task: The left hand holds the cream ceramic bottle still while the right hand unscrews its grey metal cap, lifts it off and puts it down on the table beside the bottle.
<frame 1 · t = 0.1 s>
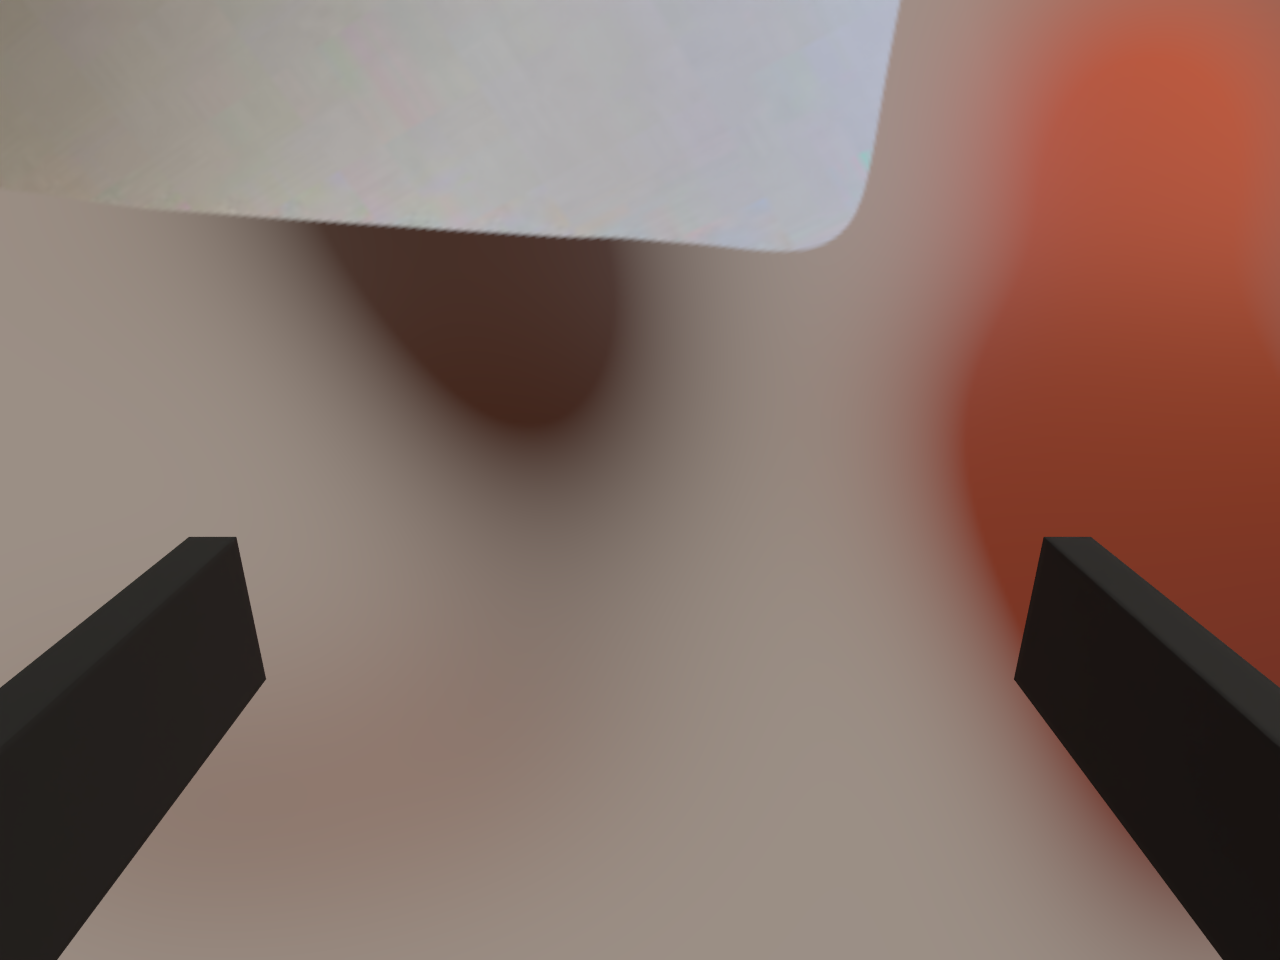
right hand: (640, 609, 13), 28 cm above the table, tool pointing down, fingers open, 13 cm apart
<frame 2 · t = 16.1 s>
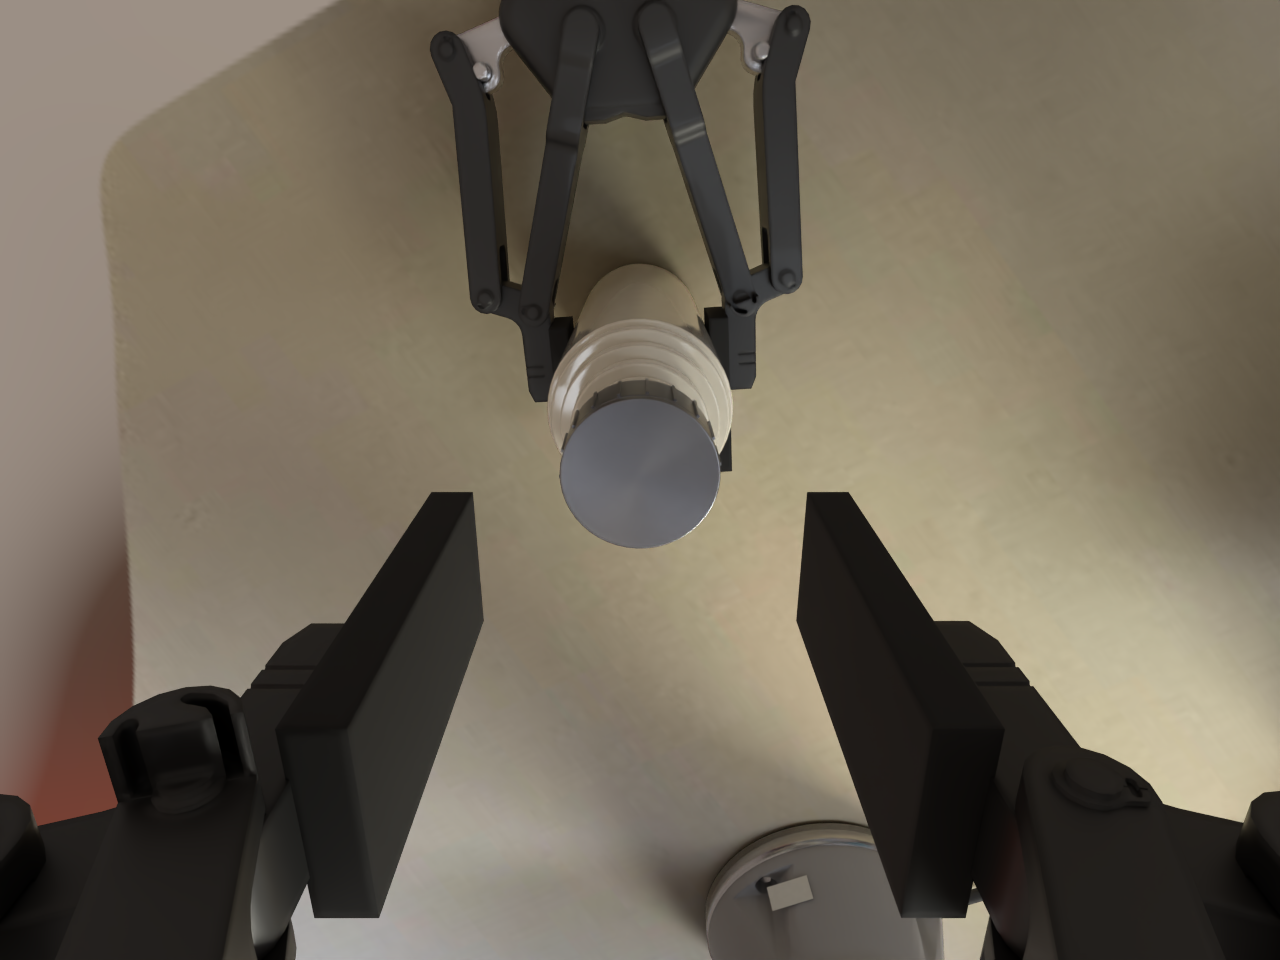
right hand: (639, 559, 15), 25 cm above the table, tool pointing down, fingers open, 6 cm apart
left hand: (647, 464, 34), fingers closed on bottle, 6 cm apart
cap: (640, 472, 19), point 21 cm above the table, screwed on, not yet turned
bottle: (640, 322, 38), on the table, touching left hand
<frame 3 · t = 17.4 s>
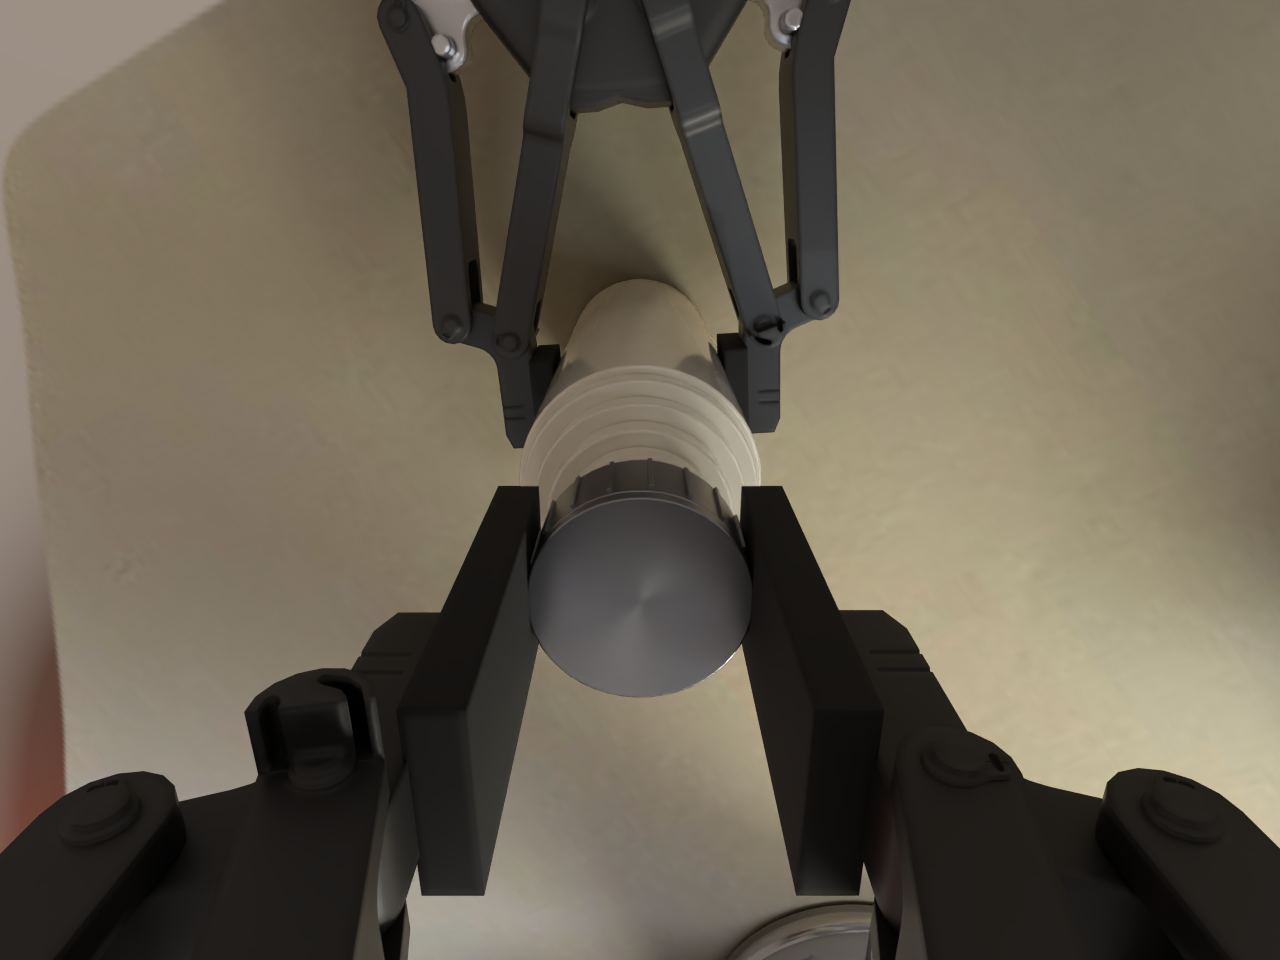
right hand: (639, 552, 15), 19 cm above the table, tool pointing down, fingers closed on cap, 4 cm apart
left hand: (649, 519, 29), fingers closed on bottle, 6 cm apart
cap: (640, 594, 13), point 21 cm above the table, screwed on, not yet turned, touching right hand
bottle: (640, 347, 33), on the table, touching left hand
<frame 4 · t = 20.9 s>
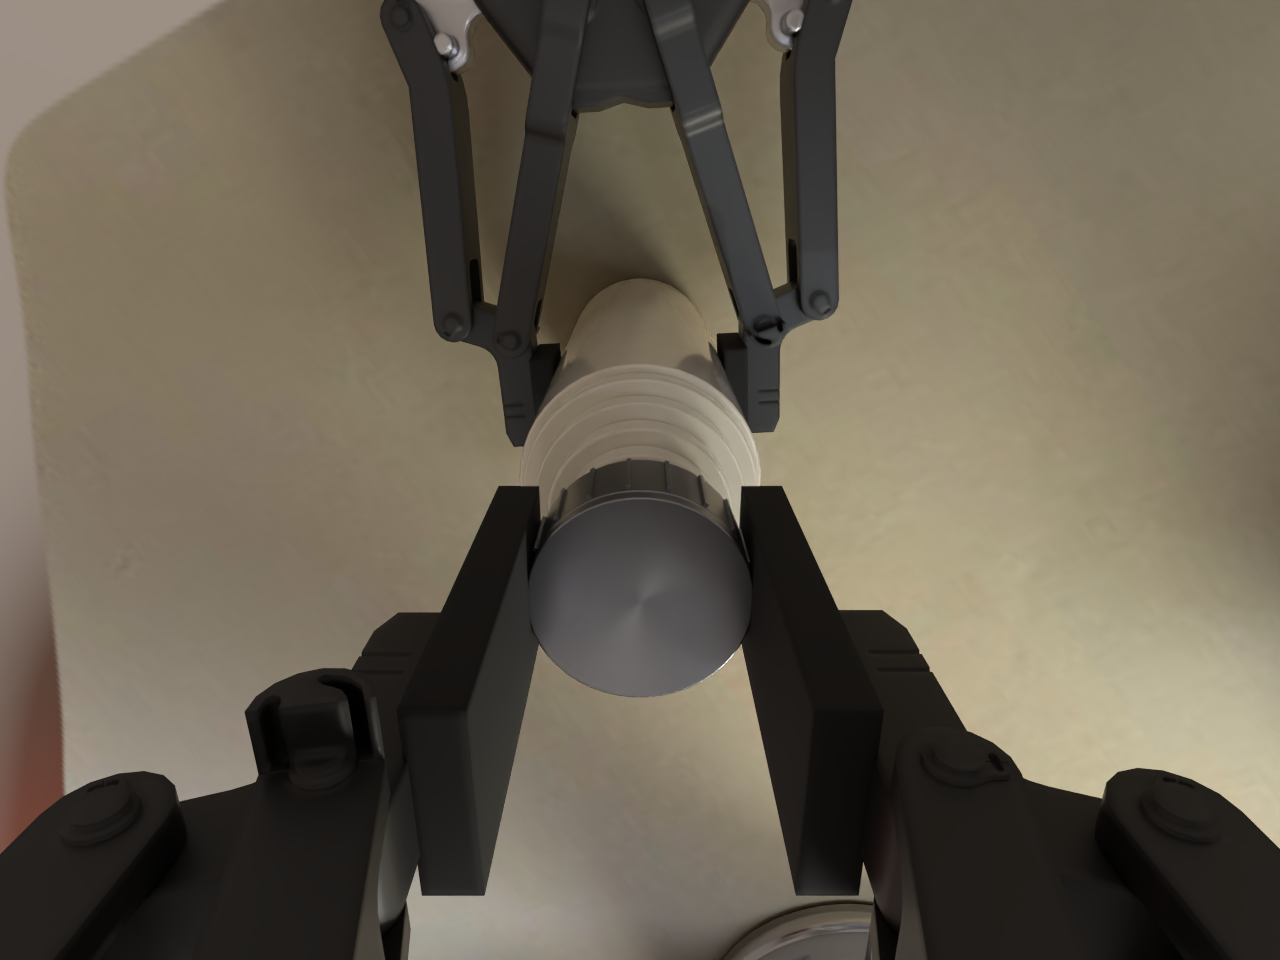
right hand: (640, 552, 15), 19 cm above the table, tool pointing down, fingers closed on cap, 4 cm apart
left hand: (648, 518, 29), fingers closed on bottle, 6 cm apart
cap: (640, 594, 13), point 21 cm above the table, turned 111° so far, risen 0.1 cm, still on its thread, touching right hand
bottle: (640, 347, 33), on the table, touching left hand
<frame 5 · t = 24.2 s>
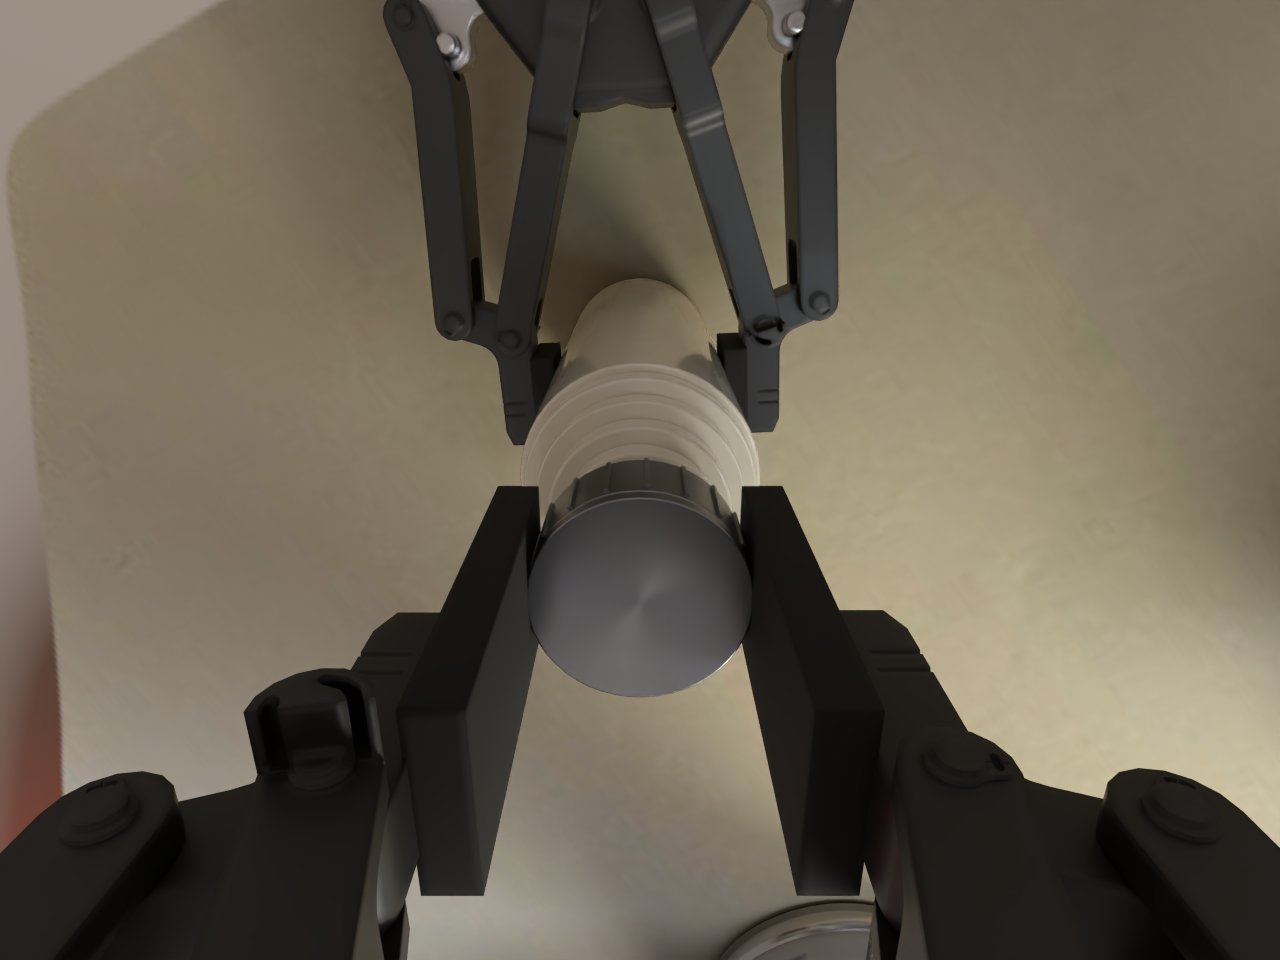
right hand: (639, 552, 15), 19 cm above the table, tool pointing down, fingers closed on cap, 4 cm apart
left hand: (647, 517, 29), fingers closed on bottle, 6 cm apart
cap: (640, 594, 13), point 21 cm above the table, turned 222° so far, risen 0.2 cm, still on its thread, touching right hand
bottle: (640, 346, 33), on the table, touching left hand
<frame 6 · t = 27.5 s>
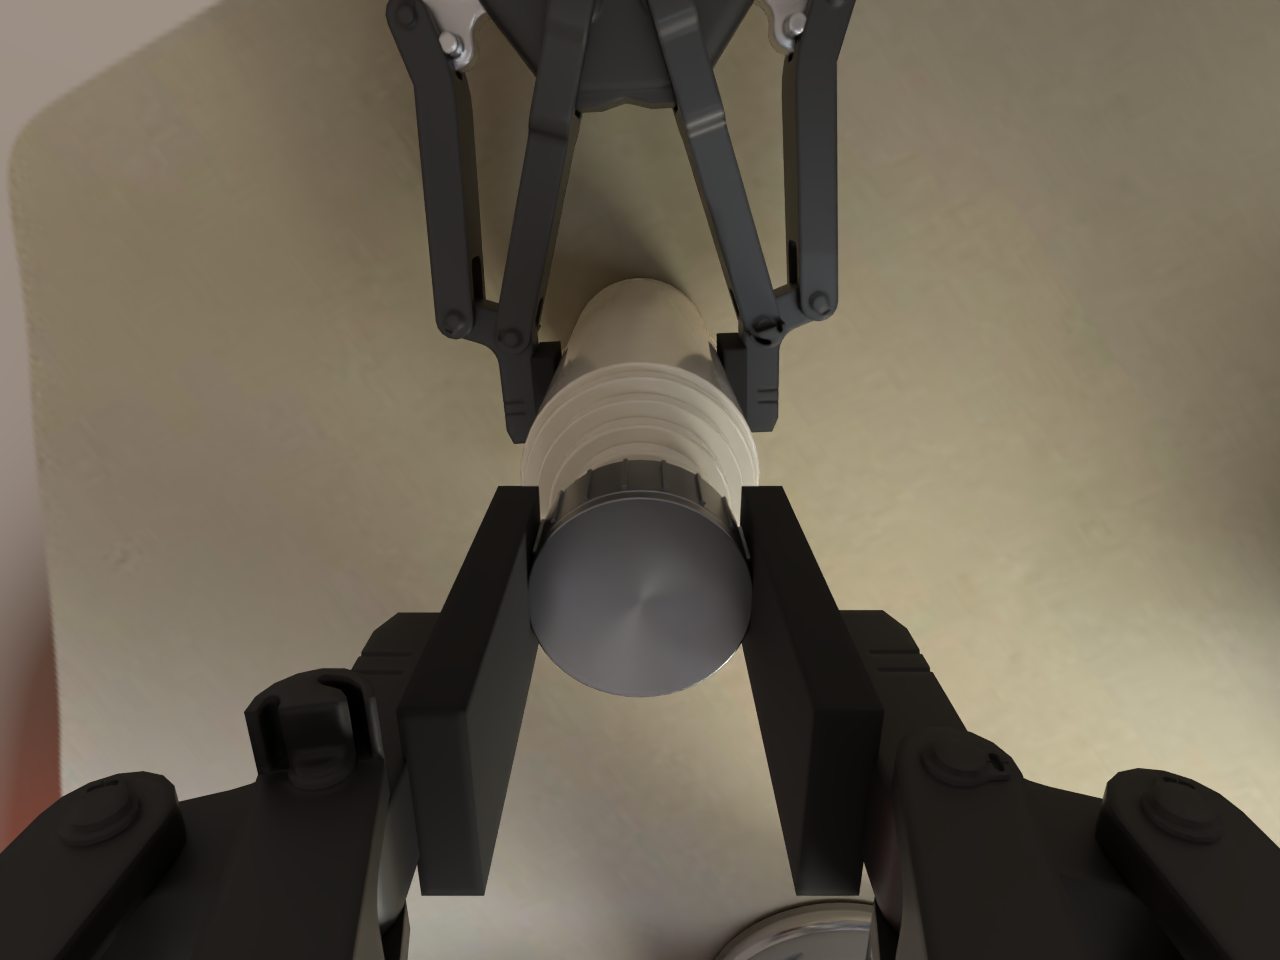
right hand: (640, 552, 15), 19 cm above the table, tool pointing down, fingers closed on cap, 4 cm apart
left hand: (647, 516, 29), fingers closed on bottle, 6 cm apart
cap: (640, 594, 13), point 21 cm above the table, turned 334° so far, risen 0.3 cm, still on its thread, touching right hand
bottle: (640, 346, 33), on the table, touching left hand
when the right hand's fingers open (2 cm above the table, at t = 34.0 s): cap drops 2 cm, point 2 cm above the table.
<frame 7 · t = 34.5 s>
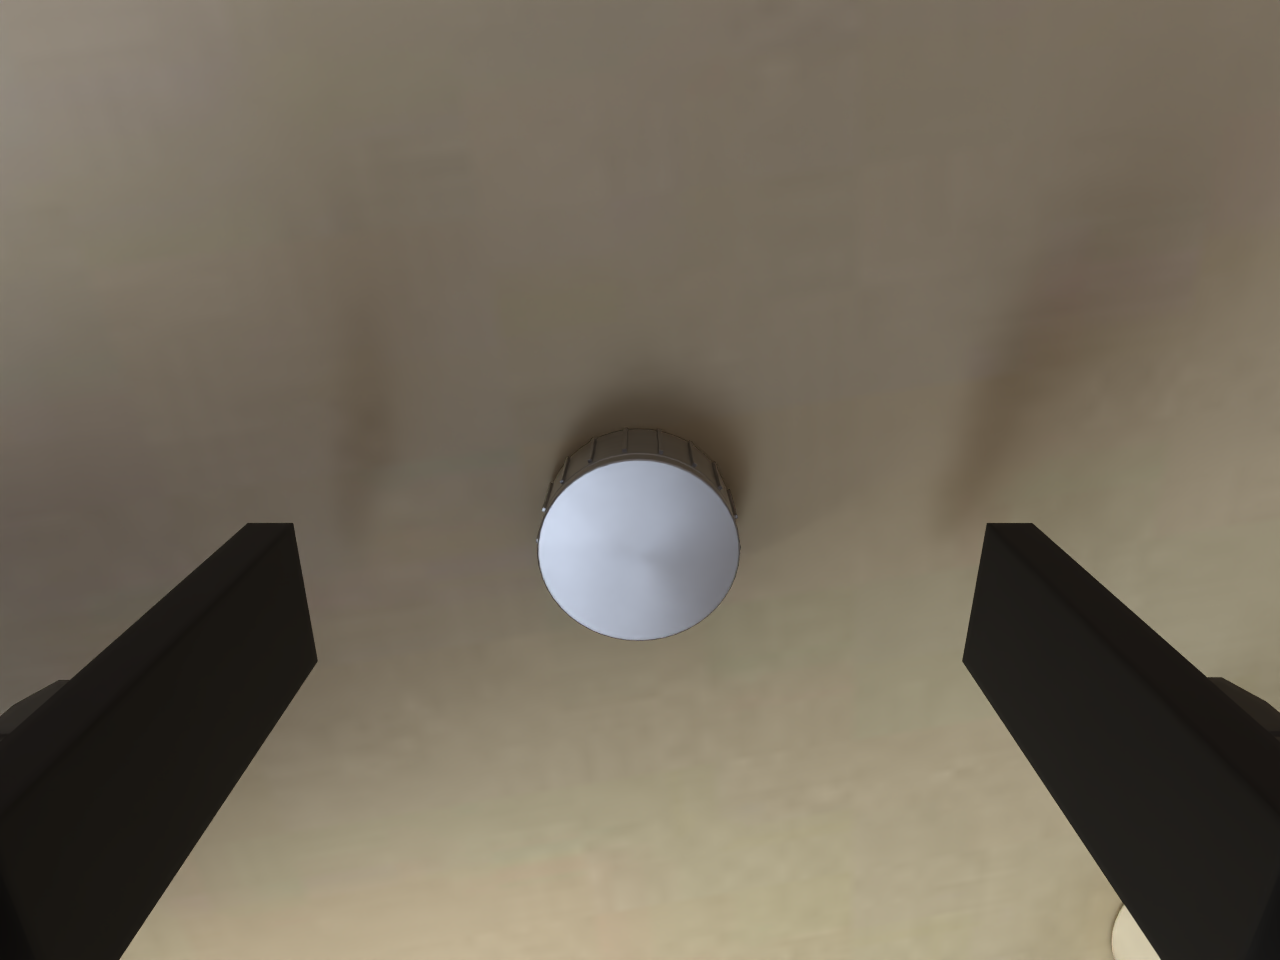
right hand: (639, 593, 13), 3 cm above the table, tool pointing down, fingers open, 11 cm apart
cap: (638, 547, 15), point 2 cm above the table, off its thread
bottle: (1218, 923, 21), on the table, touching left hand
when the left hand's fingers open (6 cm above the table, at t = 35.2 s): bottle stays where it is, on the table.
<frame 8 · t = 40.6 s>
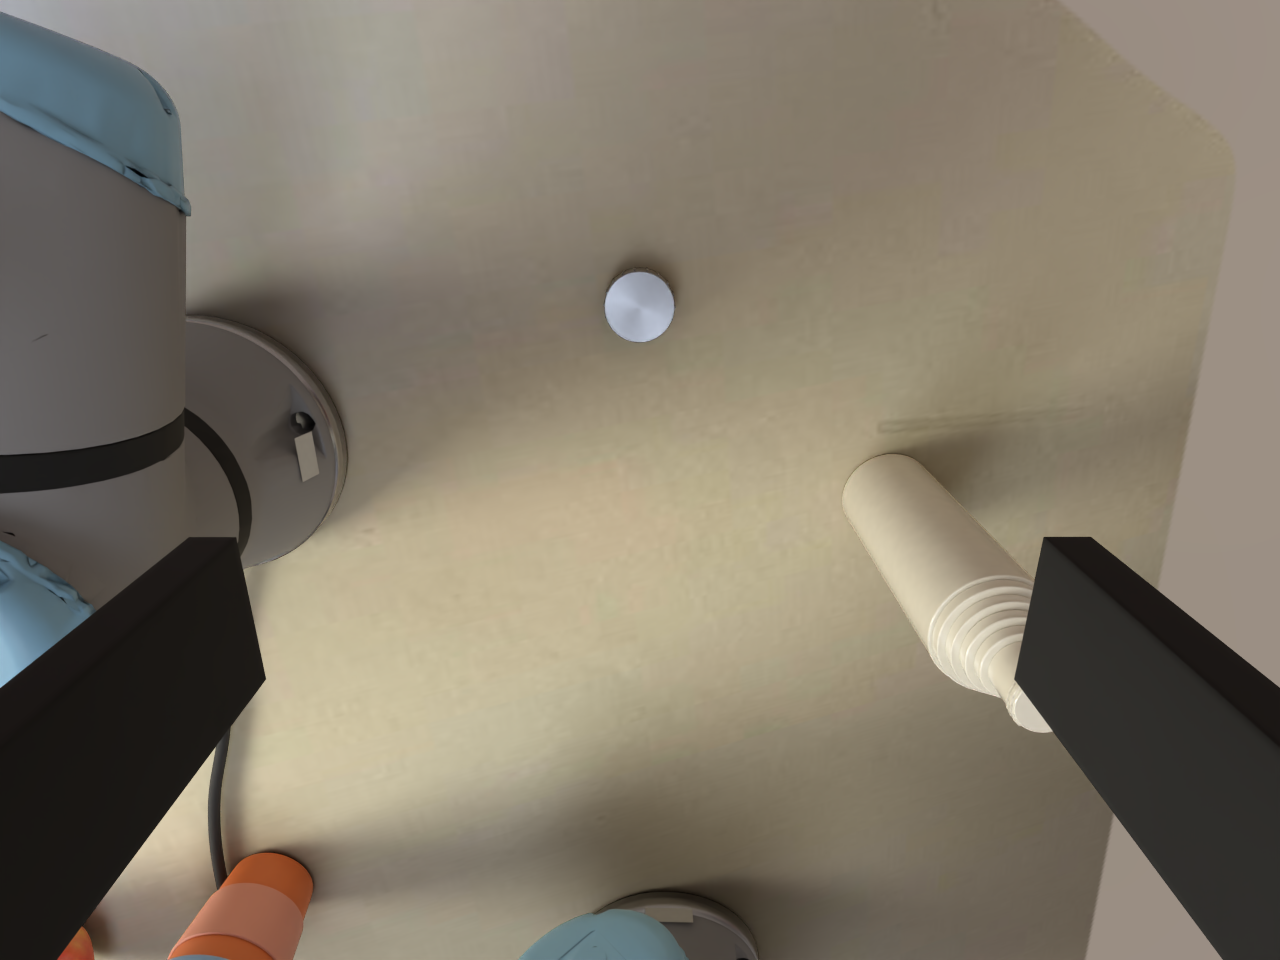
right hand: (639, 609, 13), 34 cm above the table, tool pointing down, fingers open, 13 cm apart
apple: (66, 928, 62), on the table
cap: (639, 306, 43), point 2 cm above the table, off its thread
bottle: (887, 496, 49), on the table
cup with straw: (275, 878, 60), on the table
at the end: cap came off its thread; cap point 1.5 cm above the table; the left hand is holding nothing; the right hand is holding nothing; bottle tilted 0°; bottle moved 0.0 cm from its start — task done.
